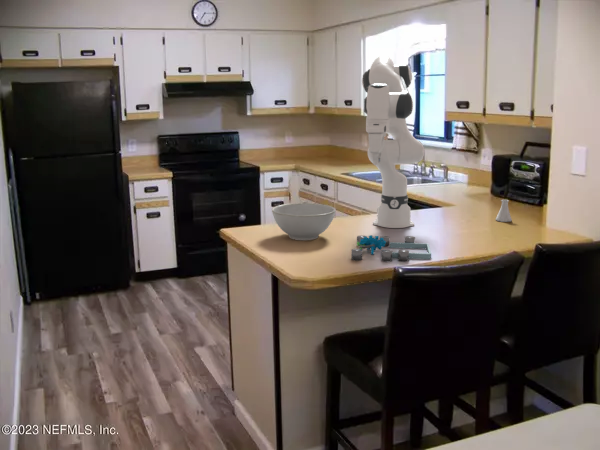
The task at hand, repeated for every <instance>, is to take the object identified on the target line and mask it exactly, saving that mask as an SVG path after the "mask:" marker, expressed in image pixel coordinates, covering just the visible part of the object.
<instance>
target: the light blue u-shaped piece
mask: <svg viewBox="0 0 600 450" xmlns="http://www.w3.org/2000/svg"><path fill="white" fill-rule="evenodd" d="M389 248H390V249H392V248H393V249H394V248H395V249H415V248H418V250H419V248H424V249H423V250H426V252H409V259H413V260H414V259H417V260H431V259H432V252H431V247H430V244H429V243H427V242H426V243H423V242H422V243H419V242H418V243H417V242H415V243H405V242H397V241H395V242H393V241H389ZM425 248H426V249H425ZM427 252H428V253H427ZM430 258H431V259H430ZM392 259H398V251H397V252H396V251H393V253H392Z"/></svg>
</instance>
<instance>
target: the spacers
mask: <svg viewBox="0 0 600 450" xmlns="http://www.w3.org/2000/svg"><path fill="white" fill-rule="evenodd" d="M365 236H366V237H367V238H368V236H367V235H362V234H361V235H357V236H356V243H357V242H360V240H361V239H364V237H365ZM380 238H384V240H385V241H386V244H385V247H384V248H388V247H390V242H391V241H390V239H391V237H390V236H388V235H380V236H379V239H378V240H380ZM384 240H383V241H384ZM415 240H416V237H415V236H413V235H407V236H404V243H416V242H415ZM381 242H382V241H381ZM393 252H394V251H393V250H391V249H382V250H381V255H380V256H381V257H380V260H381V262H385V263H388V262H393V258H392V253H393ZM397 252H398V258H397V261H398V262H405V263H406V262H409V259H410V258H409V253H410V250H408V249H398V250H397ZM350 254H351V257H350V258H351V261H356V262H357V261H362V260H363V249H359V248H352V249H351V253H350Z"/></svg>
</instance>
